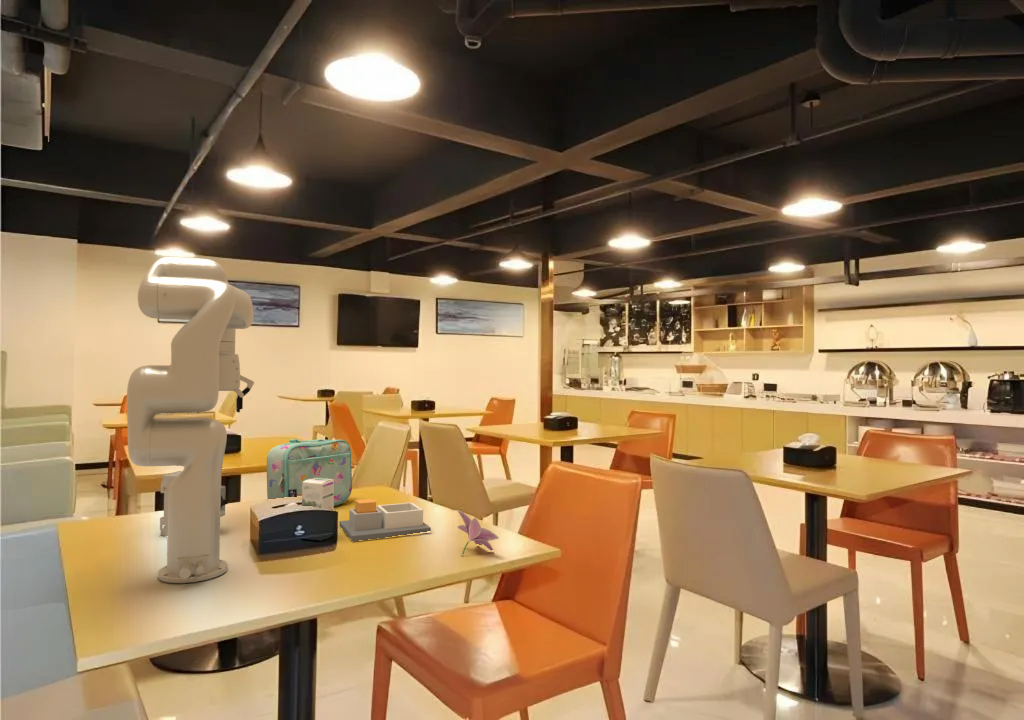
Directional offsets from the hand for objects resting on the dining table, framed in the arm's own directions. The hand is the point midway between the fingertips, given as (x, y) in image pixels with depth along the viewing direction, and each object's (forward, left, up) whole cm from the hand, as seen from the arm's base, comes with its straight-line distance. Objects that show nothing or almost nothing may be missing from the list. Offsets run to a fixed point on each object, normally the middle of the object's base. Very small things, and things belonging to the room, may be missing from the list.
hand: (218, 412), depth 165 cm
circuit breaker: (-8, +5, -30) cm, 31 cm away
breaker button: (-24, -34, -26) cm, 49 cm away
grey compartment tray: (-24, -39, -30) cm, 55 cm away
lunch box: (+8, -25, -30) cm, 40 cm away
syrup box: (-25, -22, -30) cm, 45 cm away
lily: (-52, -53, -30) cm, 80 cm away
